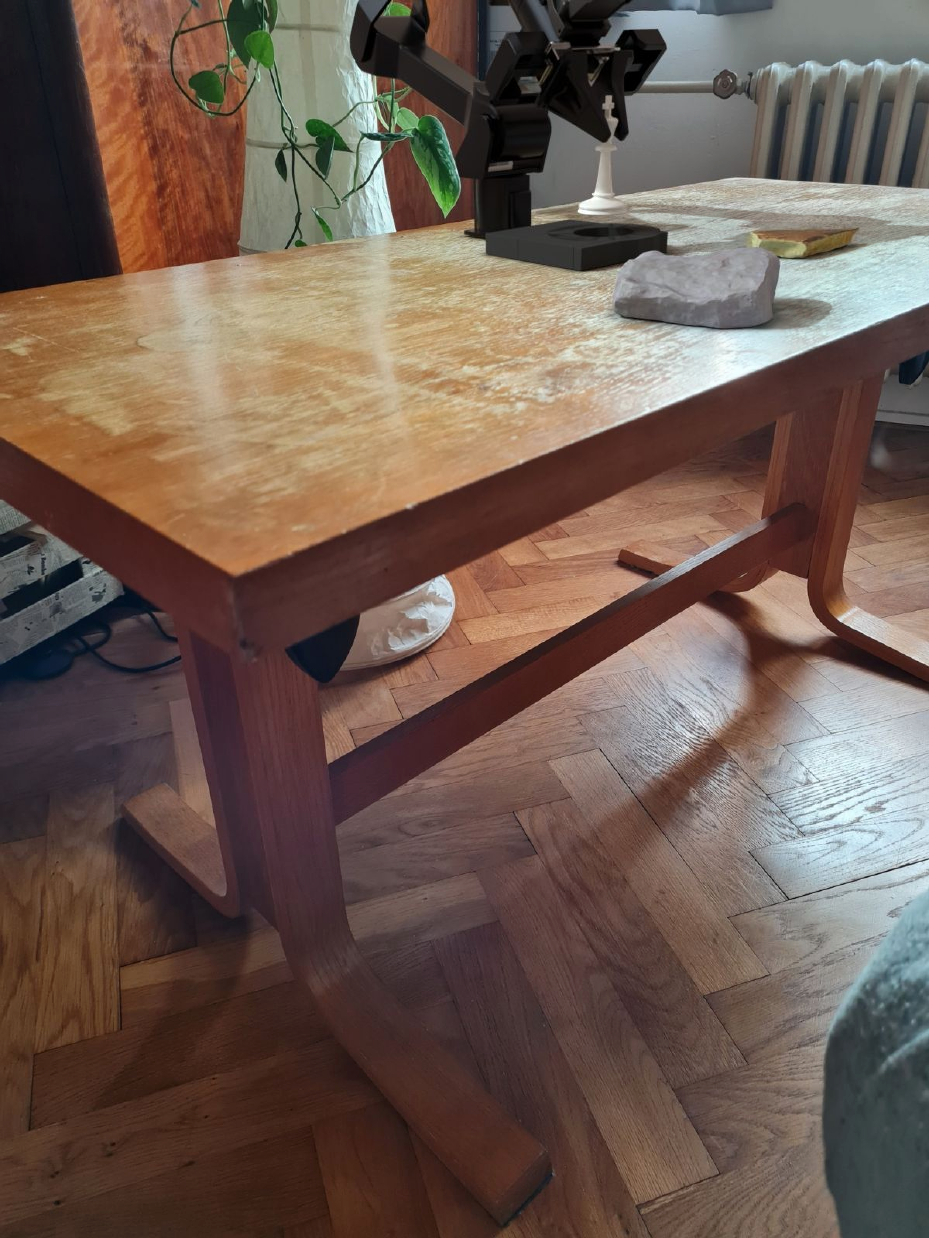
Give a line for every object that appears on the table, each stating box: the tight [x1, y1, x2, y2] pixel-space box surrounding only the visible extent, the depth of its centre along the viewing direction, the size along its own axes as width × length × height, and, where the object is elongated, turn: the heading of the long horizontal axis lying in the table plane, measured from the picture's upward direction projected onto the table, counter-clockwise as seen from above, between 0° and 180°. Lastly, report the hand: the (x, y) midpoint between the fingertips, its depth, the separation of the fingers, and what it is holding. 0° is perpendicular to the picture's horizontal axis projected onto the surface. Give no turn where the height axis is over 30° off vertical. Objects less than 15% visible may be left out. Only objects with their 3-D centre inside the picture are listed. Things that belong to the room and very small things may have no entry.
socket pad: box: [485, 218, 669, 272], centre depth 90 cm, size 15×14×2 cm
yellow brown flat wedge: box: [745, 227, 860, 259], centre depth 86 cm, size 11×8×2 cm
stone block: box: [612, 246, 781, 329], centre depth 67 cm, size 12×5×10 cm
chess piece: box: [577, 95, 629, 217], centre depth 86 cm, size 5×5×10 cm
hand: (616, 138), depth 84 cm, fingers closed on chess piece
